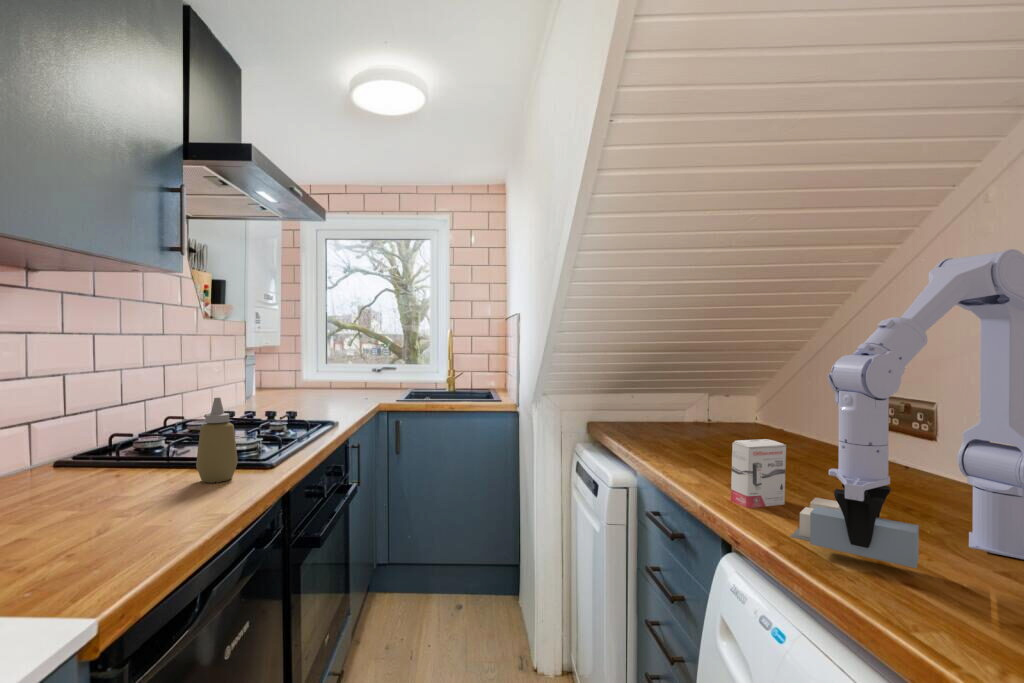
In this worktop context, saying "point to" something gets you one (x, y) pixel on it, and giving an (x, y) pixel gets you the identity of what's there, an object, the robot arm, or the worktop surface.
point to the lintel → (887, 541)
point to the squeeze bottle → (216, 446)
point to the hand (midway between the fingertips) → (862, 540)
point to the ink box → (758, 473)
